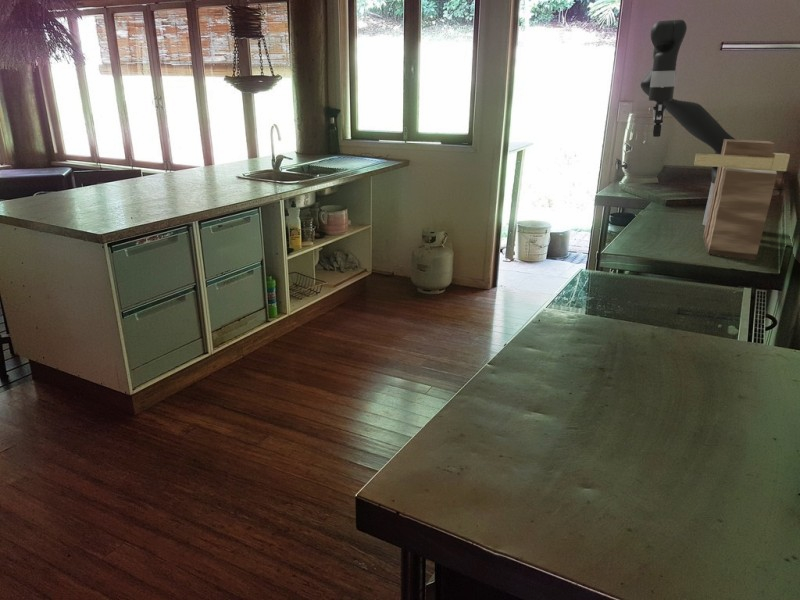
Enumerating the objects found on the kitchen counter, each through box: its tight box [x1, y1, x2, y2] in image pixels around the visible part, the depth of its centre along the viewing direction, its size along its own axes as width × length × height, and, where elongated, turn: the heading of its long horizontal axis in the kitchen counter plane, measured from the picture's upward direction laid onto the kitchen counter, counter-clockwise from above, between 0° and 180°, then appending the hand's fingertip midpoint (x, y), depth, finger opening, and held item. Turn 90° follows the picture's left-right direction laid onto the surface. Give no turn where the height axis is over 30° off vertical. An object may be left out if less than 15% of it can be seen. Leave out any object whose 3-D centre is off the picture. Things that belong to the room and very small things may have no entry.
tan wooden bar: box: [693, 152, 791, 172], centre depth 186 cm, size 5×26×5 cm, turn 67°
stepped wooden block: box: [702, 138, 778, 261], centre depth 195 cm, size 26×14×36 cm, turn 157°
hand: (656, 135), depth 198 cm, fingers open, 8 cm apart
